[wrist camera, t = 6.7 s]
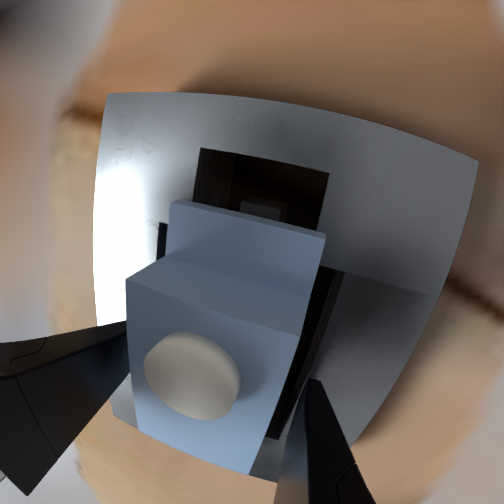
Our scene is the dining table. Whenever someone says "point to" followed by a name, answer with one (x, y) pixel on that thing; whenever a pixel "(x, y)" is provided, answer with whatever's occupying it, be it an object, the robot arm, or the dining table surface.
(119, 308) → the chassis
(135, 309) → the servo
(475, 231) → the dining table surface
